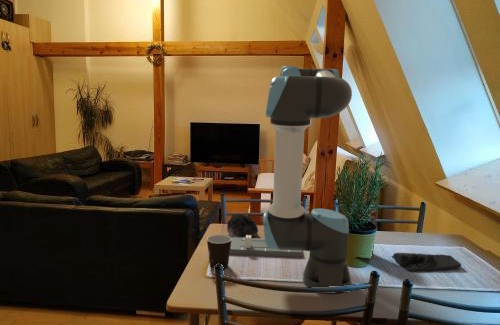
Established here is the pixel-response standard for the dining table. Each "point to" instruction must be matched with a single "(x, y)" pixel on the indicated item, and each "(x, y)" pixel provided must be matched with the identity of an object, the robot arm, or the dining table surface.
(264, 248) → the console
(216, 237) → the coffee mug
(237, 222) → the dark grey rounded lump
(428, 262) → the dark slate chunk
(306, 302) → the dining table surface
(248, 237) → the fader left
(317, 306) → the dining table surface
